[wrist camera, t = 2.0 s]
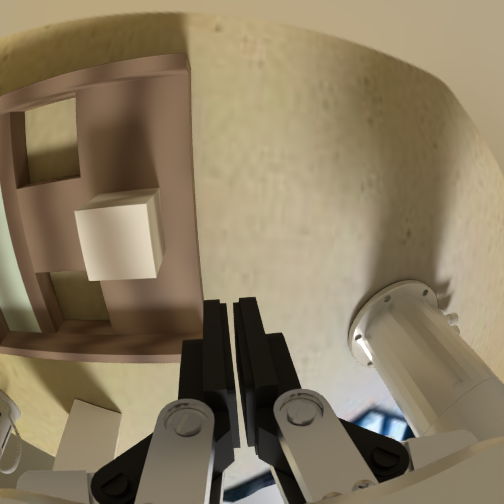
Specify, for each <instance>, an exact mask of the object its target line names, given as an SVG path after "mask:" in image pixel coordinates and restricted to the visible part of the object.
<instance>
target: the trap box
mask: <svg viewBox="0 0 504 504" xmlns="http://www.w3.org/2000/svg"><path fill="white" fill-rule="evenodd" d="M74 97H76V123H77V141H78V154H79V164H80V175H74V176H68V177H62V178H56V179H51V180H46V181H40V182H35V183H30V178H29V170H28V161H27V151H26V137H25V115H24V111H27V110H31V109H34V108H37V107H40V106H44V105H47V104H51V103H54V102H58V101H62V100H66V99H70V98H74ZM151 188H160V197H161V208H162V218H163V227H164V236H165V244H166V251H165V254H164V257H163V259H162V262H161V265H160V268H159V271H158V275H157V278H145V279H124V280H101V281H100V285H101V289H102V292H103V296H104V300H105V304H106V307H107V311H108V314H109V318H110V320H64V318H63V315H62V312H61V309H60V306H59V303H58V300H57V297H56V294H55V291H54V288H53V285H52V281H51V278H50V274H49V272H62V271H82V270H86V266H85V262H84V258H83V253H82V249H81V244H80V239H79V234H78V229H77V224H76V218H75V212H74V211H75V210H77V209H78V208H80V207H81V206H82V205H84V204H85V203H87V202H88V201H90V200H91V199H93V198H94V197H96V196H97V195H99V194H103V193H112V192H121V191H130V190H140V189H151ZM203 301H204V298H203V288H202V278H201V267H200V256H199V244H198V231H197V218H196V203H195V187H194V168H193V146H192V117H191V68H190V65H189V62H188V59H187V57H186V54H185V53H175V54H165V55H157V56H149V57H142V58H135V59H129V60H124V61H118V62H113V63H108V64H103V65H98V66H94V67H90V68H85V69H81V70H77V71H74V72H70V73H66V74H63V75H59V76H56V77H52V78H49V79H46V80H43V81H40V82H37V83H34V84H31V85H28V86H25V87H23V88H20V89H17V90H15V91H12V92H9V93H7V94H4V95H2V96H0V353H2V354H9V355H17V356H25V357H33V358H43V359H54V360H66V361H82V362H103V363H181V352H182V342H183V340H187V339H203Z"/></svg>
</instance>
